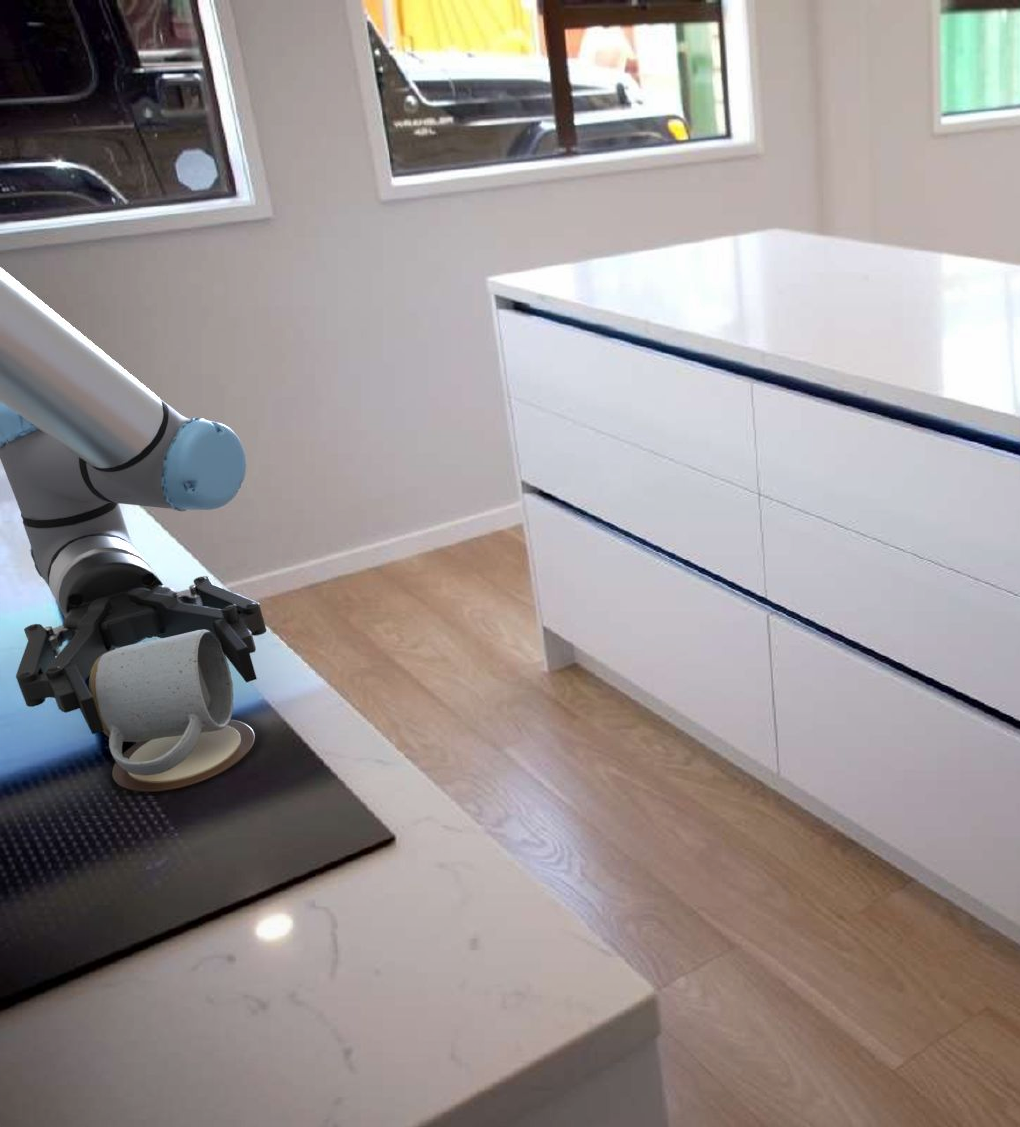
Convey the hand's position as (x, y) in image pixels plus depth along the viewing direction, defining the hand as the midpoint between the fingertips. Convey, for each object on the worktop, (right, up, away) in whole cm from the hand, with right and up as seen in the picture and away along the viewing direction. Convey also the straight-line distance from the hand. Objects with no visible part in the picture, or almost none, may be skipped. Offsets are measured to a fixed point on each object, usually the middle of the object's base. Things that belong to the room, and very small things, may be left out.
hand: (172, 689), depth 92 cm
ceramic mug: (-3, -4, +5) cm, 8 cm away
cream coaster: (-2, -6, +7) cm, 9 cm away
